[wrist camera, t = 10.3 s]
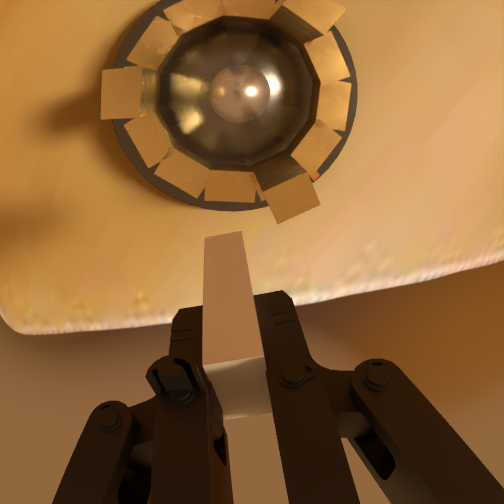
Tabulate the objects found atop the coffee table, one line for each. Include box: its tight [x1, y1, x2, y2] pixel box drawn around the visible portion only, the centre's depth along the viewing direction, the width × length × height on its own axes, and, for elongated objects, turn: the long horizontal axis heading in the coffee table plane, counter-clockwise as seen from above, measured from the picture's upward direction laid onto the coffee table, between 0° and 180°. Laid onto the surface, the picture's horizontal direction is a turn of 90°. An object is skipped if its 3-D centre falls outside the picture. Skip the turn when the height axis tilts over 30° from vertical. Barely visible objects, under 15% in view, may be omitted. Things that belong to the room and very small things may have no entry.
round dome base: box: [101, 0, 351, 224], centre depth 19 cm, size 16×16×7 cm
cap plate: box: [112, 0, 357, 211], centre depth 22 cm, size 20×20×6 cm
